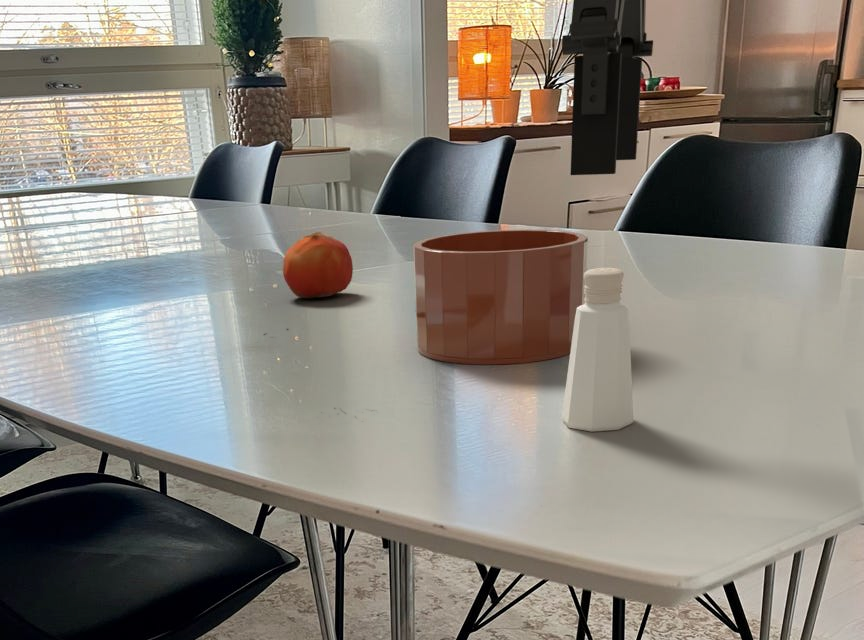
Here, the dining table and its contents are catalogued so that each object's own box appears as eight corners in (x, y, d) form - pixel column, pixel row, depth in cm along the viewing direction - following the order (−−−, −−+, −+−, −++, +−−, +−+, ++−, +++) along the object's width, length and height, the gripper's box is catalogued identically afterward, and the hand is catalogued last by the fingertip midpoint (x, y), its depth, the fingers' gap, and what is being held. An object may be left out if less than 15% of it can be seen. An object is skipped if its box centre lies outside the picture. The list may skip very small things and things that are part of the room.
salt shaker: (628, 433, 75) (638, 276, 70) (555, 430, 76) (558, 276, 71) (637, 413, 79) (647, 263, 74) (567, 410, 81) (572, 264, 76)
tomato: (288, 305, 131) (281, 238, 127) (283, 294, 139) (277, 231, 135) (359, 299, 132) (355, 233, 128) (350, 288, 140) (346, 226, 136)
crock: (592, 329, 108) (597, 228, 103) (569, 366, 94) (573, 251, 89) (440, 328, 113) (438, 231, 108) (397, 363, 99) (392, 253, 94)
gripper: (589, -179, 71) (576, 156, 81) (521, -286, 50) (516, 183, 60) (701, -194, 69) (674, 153, 79) (679, -312, 48) (646, 179, 58)
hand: (605, 167), depth 70 cm, fingers open, 13 cm apart
